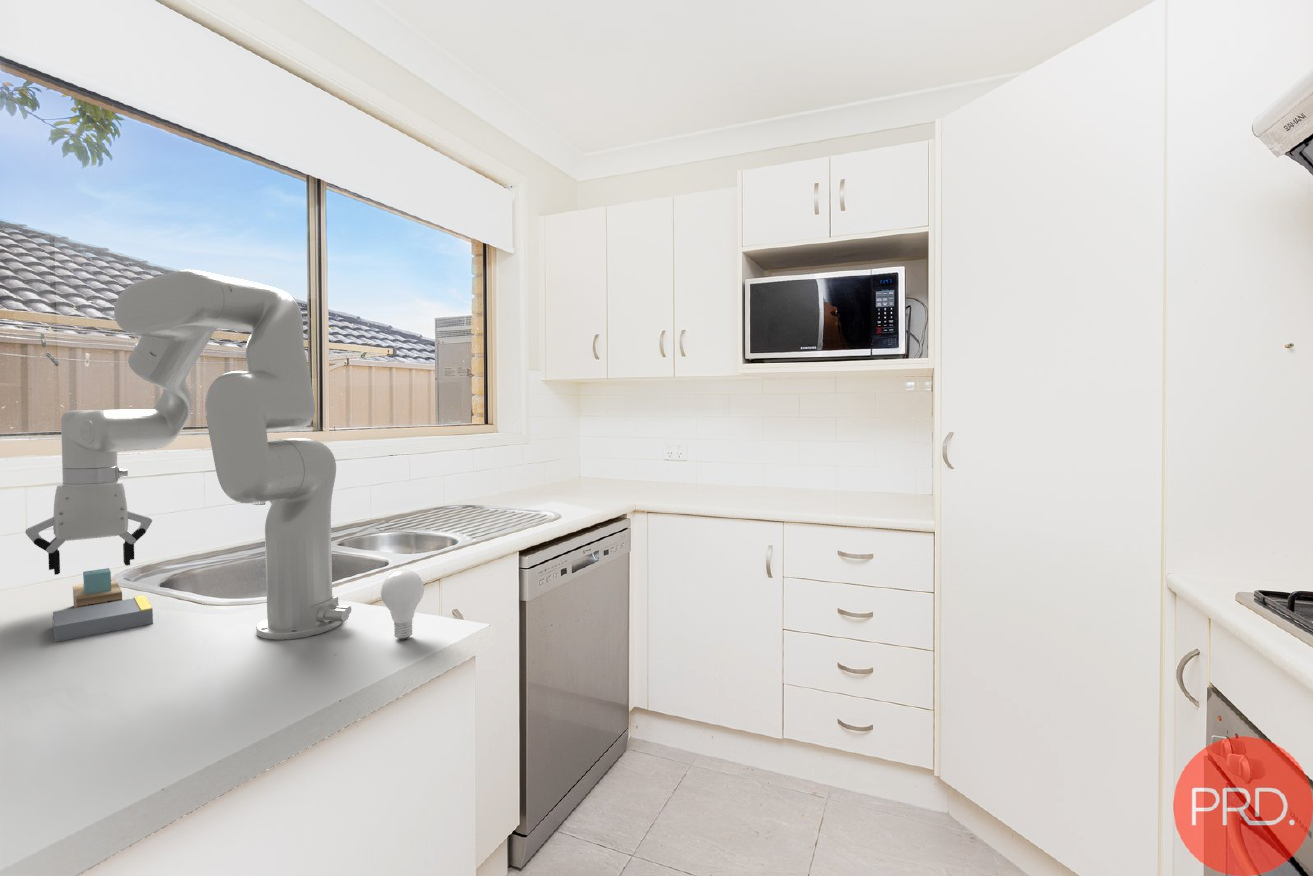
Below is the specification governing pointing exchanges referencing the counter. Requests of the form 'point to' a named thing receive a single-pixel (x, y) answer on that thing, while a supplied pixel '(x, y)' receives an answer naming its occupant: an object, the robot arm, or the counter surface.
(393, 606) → the lightbulb
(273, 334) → the robot arm
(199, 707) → the counter surface
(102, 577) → the block
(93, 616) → the dock
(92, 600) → the pallet
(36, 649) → the counter surface
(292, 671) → the counter surface
